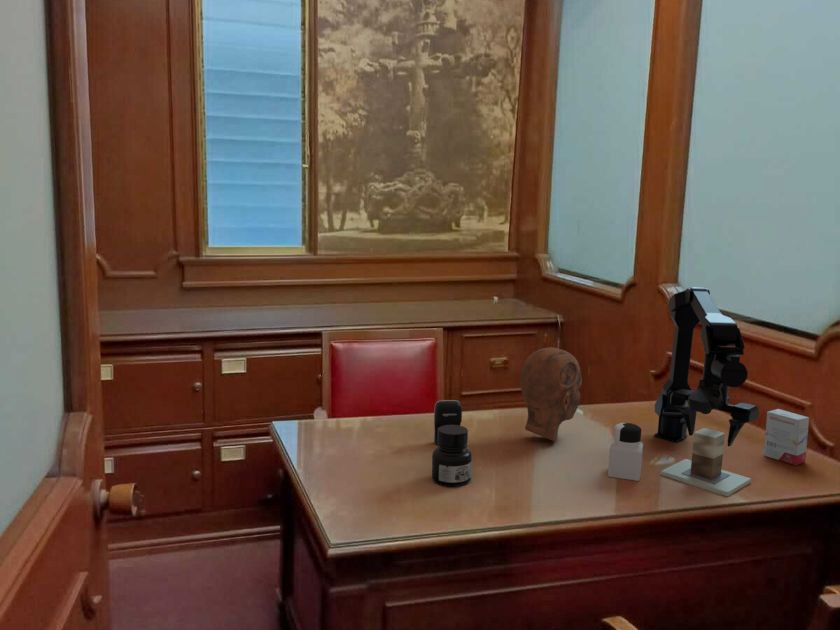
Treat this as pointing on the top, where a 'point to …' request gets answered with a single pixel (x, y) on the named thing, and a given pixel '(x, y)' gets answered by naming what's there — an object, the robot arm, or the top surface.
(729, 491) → the board
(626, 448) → the medicine bottle
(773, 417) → the ink box
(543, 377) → the head sculpture
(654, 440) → the top surface
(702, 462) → the walnut cube
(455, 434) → the ink bottle
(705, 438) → the maple cube
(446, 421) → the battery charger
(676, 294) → the robot arm
